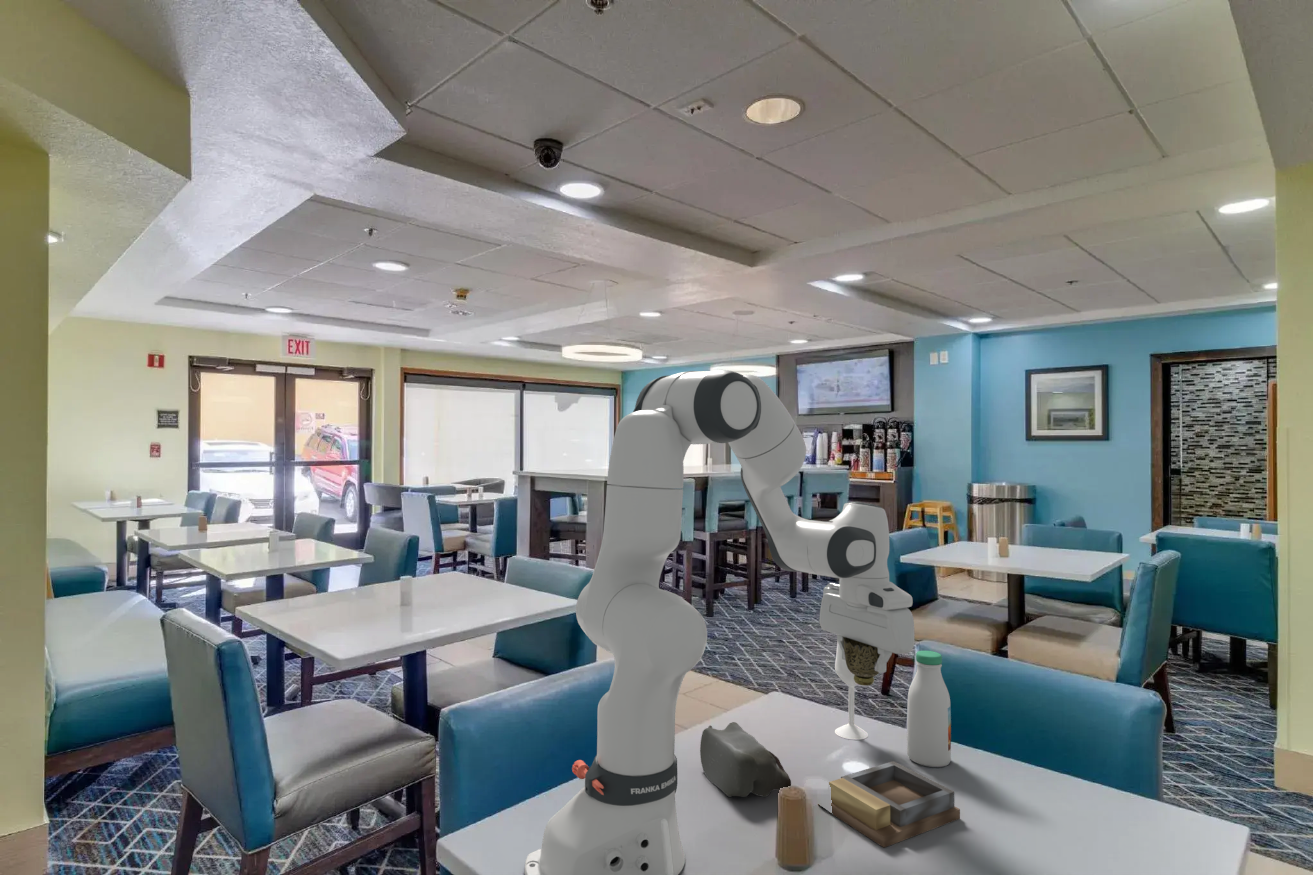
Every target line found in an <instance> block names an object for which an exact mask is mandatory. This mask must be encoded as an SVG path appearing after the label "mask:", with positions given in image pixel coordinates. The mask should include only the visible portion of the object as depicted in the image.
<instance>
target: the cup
mask: <svg viewBox="0 0 1313 875" xmlns="http://www.w3.org/2000/svg"><path fill="white" fill-rule="evenodd" d="M843 641H844V652H845V660H846V665H847V667H848V669H849V671H850V672H851V673H852V674H854V677H853V679H854V681H855V683H857V684H858V685H859V686H865V687H867V686H872V685H873V684H874V682H875V677H876V676H878V675H879V674H880V673H879V672H876V671H874V670H873V667H874V662H876V661H878V658H879V656H880V654H878V648H877V647H874V646H871V645H868V644H865V643H862V642H859V641H855V640H852V639H849V638H844V637H843Z"/></svg>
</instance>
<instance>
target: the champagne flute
mask: <svg viewBox="0 0 1313 875" xmlns="http://www.w3.org/2000/svg"><path fill="white" fill-rule="evenodd" d="M836 641H837V640H836ZM836 643H837V644H836V651H835V652H836V654H835V663H834V670H835V673H836V674H837V676H838V677H839V678H840V680H841V681H842V682H843V683H844V684H845V685H847V687H848V710H847V711H848V714H847V715H848V723H847V724H844V725H841V726H839V727H837V728H836V729H835V730H834V733H835V734H836V735H837V736H839V737H840V738H842V739H847V740H854V741H855V740H857V741H858V740H860V741H861V740H865V739H866V738H868V737H869V734H868V732H867V731H866V730H864V729H863V728H861V727H859V726H858V725H856V724H855V687H856V686H858V685H859V684H857V683H855V681H854V679H853V677H854V674H852V673H851V672H850V671H849V669H848V667H847V665H846V660H843V659H842V650H841V648H840V646H839V643H838V641H837V642H836Z"/></svg>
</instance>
